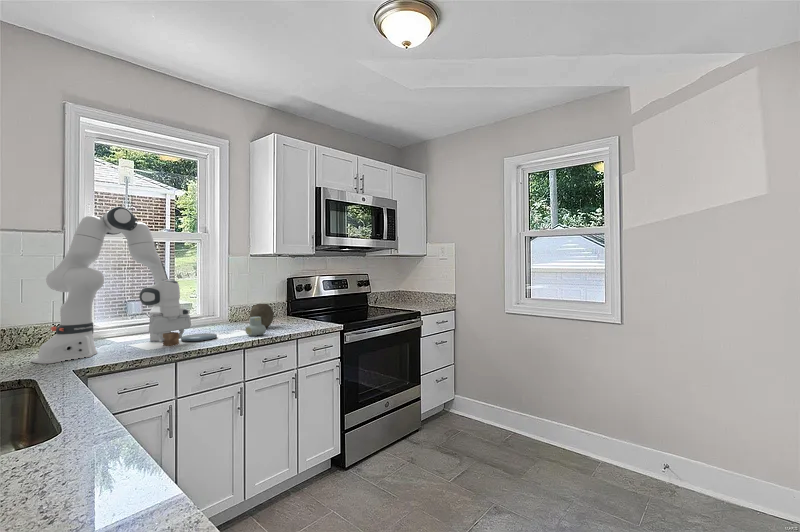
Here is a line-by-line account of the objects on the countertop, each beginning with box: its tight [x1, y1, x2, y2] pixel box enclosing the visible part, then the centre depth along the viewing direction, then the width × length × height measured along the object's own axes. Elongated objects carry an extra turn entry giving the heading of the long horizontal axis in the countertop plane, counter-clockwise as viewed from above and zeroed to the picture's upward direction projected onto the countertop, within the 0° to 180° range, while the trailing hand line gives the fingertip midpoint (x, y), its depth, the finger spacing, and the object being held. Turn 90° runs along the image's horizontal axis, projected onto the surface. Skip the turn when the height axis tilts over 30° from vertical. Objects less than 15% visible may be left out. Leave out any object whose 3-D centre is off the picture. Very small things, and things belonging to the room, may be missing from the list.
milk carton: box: [148, 305, 172, 342], centre depth 223 cm, size 7×7×19 cm
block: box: [162, 331, 180, 347], centre depth 209 cm, size 5×5×6 cm
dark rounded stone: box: [249, 303, 275, 329], centre depth 257 cm, size 14×14×15 cm
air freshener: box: [245, 316, 267, 337], centre depth 232 cm, size 11×8×10 cm
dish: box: [180, 332, 217, 342], centre depth 223 cm, size 17×17×2 cm
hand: (170, 340), depth 209 cm, fingers open, 8 cm apart
